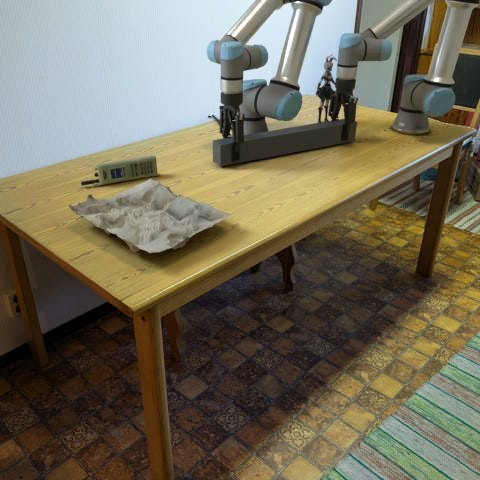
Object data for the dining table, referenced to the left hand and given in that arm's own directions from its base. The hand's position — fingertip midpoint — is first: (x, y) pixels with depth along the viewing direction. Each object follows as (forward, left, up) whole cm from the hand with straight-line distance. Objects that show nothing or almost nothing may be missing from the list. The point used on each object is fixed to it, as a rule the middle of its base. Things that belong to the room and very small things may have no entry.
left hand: (231, 157), depth 180 cm
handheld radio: (+10, -39, -2) cm, 40 cm away
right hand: (-15, +47, 0) cm, 49 cm away
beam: (-8, +23, -1) cm, 24 cm away
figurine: (-41, +49, -2) cm, 64 cm away
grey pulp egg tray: (+43, -31, -2) cm, 53 cm away
